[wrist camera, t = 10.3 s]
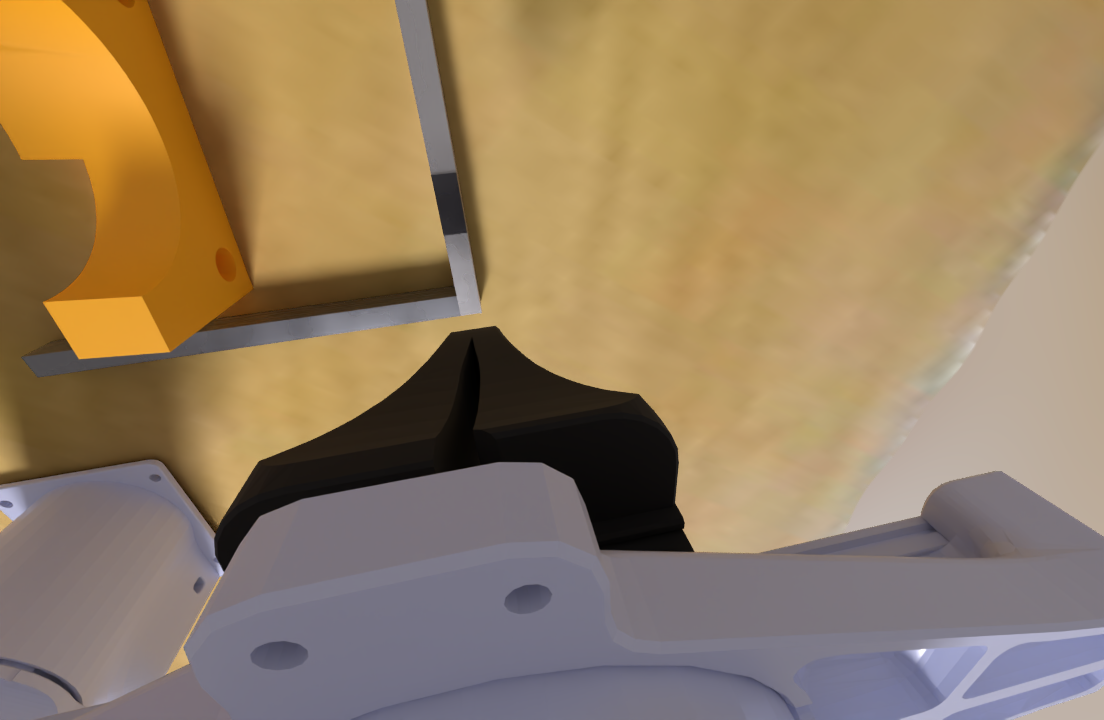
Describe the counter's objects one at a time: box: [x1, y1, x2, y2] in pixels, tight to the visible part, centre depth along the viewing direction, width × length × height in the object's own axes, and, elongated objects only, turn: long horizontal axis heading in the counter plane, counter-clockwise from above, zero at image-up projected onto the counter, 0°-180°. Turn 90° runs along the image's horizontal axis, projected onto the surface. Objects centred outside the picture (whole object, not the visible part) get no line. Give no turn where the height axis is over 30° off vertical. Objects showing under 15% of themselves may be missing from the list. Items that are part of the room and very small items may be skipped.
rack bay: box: [21, 0, 482, 377], centre depth 15 cm, size 18×19×2 cm
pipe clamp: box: [0, 0, 253, 359], centre depth 13 cm, size 12×4×6 cm, turn 0°
